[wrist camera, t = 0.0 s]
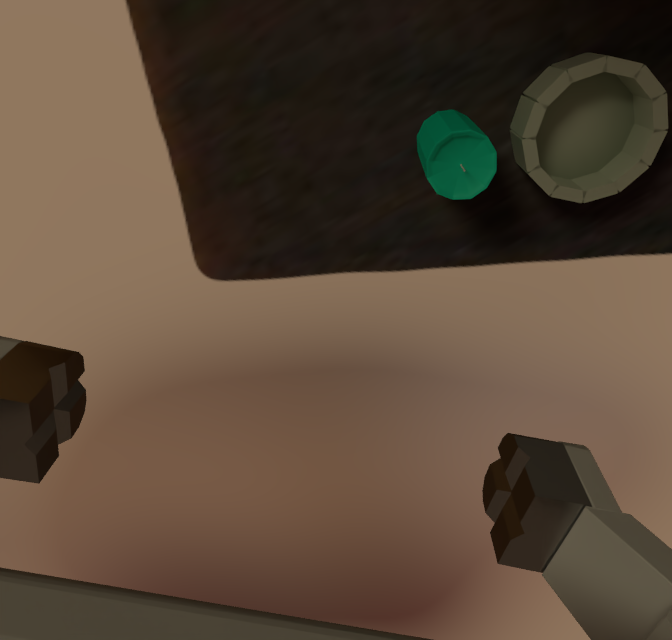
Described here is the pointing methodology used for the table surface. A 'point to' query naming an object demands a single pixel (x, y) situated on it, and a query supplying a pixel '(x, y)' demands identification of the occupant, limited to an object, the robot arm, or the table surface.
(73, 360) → the robot arm
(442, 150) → the candle
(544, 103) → the dish
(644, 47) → the table surface
